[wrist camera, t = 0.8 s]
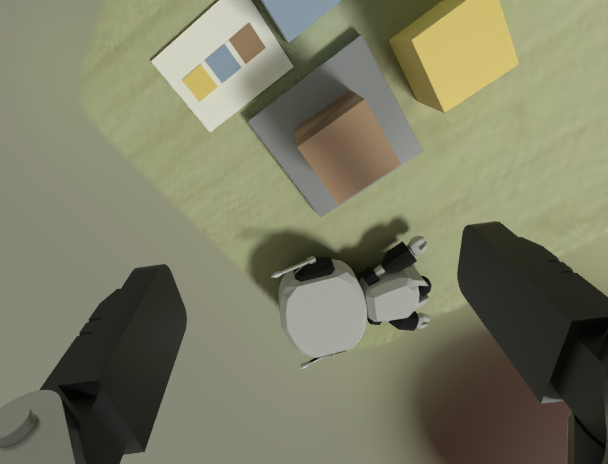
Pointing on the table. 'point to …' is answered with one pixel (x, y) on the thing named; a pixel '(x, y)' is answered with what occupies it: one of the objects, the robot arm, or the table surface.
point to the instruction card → (223, 61)
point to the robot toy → (350, 300)
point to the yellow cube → (454, 51)
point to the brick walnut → (346, 146)
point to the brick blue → (296, 14)
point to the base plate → (317, 95)
